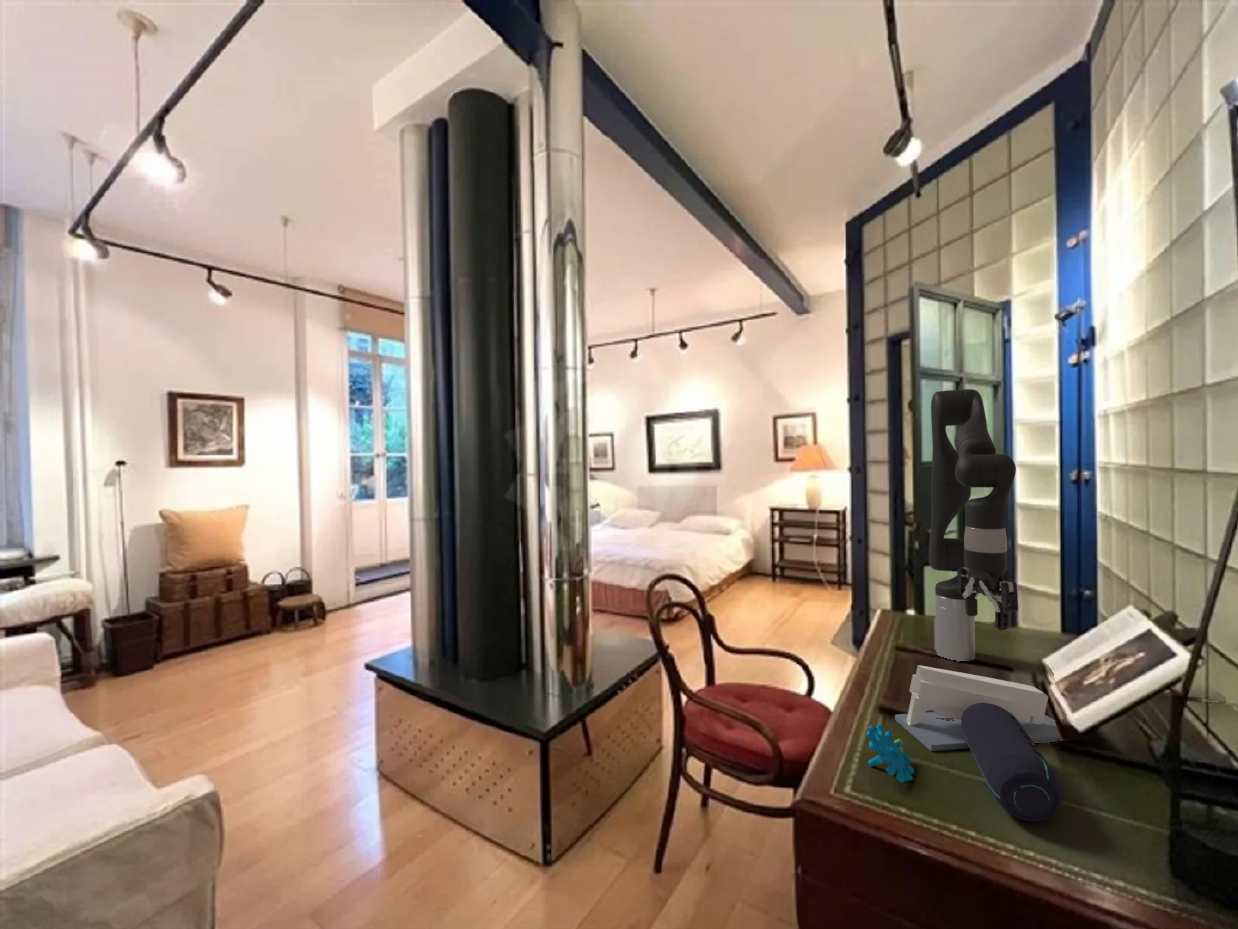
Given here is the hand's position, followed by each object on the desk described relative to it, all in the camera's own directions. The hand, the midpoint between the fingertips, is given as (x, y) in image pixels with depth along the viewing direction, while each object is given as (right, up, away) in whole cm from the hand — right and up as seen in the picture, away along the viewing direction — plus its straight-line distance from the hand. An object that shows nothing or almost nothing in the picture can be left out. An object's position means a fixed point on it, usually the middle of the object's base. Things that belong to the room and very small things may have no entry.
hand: (985, 622), depth 113 cm
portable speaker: (-10, -23, -20) cm, 32 cm away
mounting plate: (-3, -22, -3) cm, 22 cm away
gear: (-29, -23, -16) cm, 40 cm away
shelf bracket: (-5, -21, -3) cm, 21 cm away
